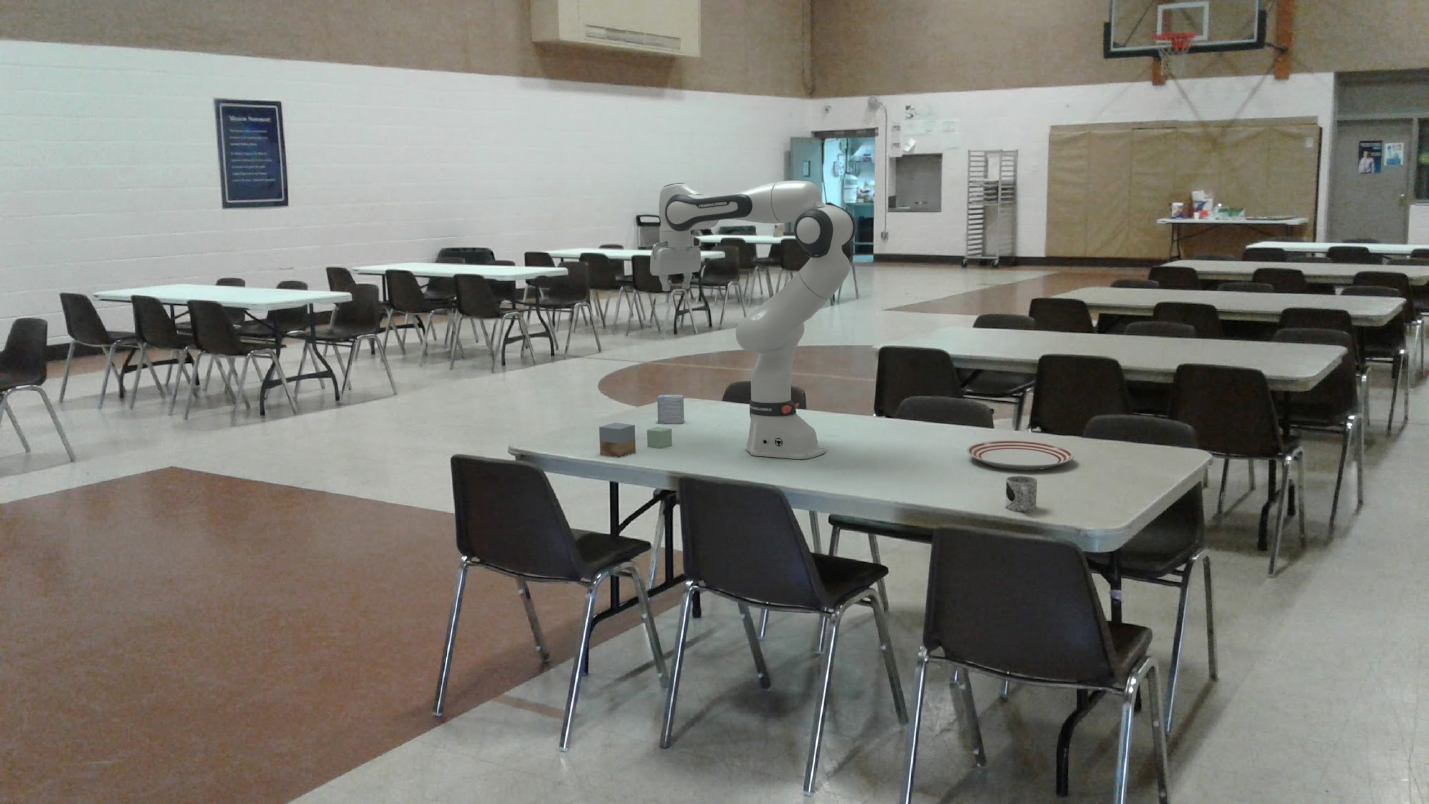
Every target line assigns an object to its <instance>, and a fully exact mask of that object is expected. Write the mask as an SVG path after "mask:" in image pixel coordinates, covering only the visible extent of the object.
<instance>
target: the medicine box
mask: <svg viewBox="0 0 1429 804" xmlns="http://www.w3.org/2000/svg"><path fill="white" fill-rule="evenodd" d="M656 399H657V401H656V402H657V405H656V406H657V424H658V425H672V424H673V425H682V424H683V423H684V422H685V409H684V407H685V402H684V395H683V394H659V395H658V396H657V398H656Z"/></svg>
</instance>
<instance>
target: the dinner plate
mask: <svg viewBox="0 0 1429 804" xmlns="http://www.w3.org/2000/svg"><path fill="white" fill-rule="evenodd" d="M966 453H967V454H968V455H969V456H971V457H973V458H974V459H976V460H977V461H979V462H982V463H985V464H987V465H988V464H989V465H988V466H991V467H994V466H995V468H1000V469H1005V468H1007V469H1006V470H1014V469H1020V470H1019V471H1025V470H1024V469H1039V470H1042V469H1041V468H1046V469H1049V468H1048V467H1050V468H1053V467H1055V466H1056V467H1057V466H1060V465H1063V464H1065V463H1067V462H1070V461H1071V460H1073V459H1074V457H1075V455H1074V453H1073V452H1072V451H1071V450H1070V449H1068V448H1065V447H1063V446H1059V445H1055V444H1052V443H1047V442H1041V441H1033V440H1022V439H1021V440H1020V439H1001V440H1000V439H999V440H989V441H983V442H978V443H973V444H971V445H969V446H967V448H966ZM1022 469H1023V470H1022Z"/></svg>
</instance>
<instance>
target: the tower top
mask: <svg viewBox="0 0 1429 804" xmlns="http://www.w3.org/2000/svg"><path fill="white" fill-rule="evenodd" d="M635 426H636V425H635V424H629V423H619V422H613V423H608V424H604V425H601V426H599V431H598V432H599V433H598V434H599V435H598V436H599V442H600V441H603V442H611V443H618V444H620V443H624V442H627V441H631V440H634V439H635V440H636V427H635Z"/></svg>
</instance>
